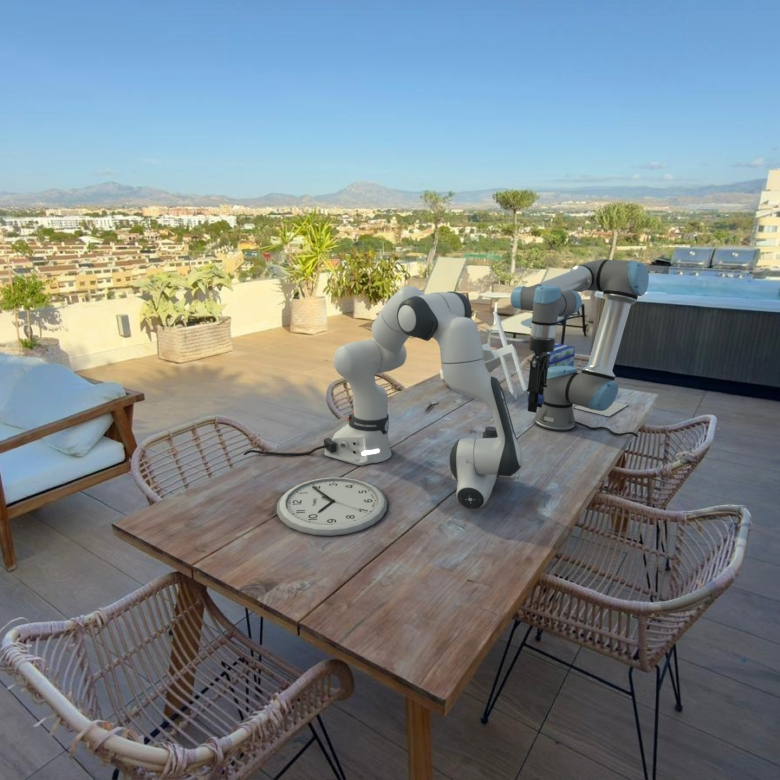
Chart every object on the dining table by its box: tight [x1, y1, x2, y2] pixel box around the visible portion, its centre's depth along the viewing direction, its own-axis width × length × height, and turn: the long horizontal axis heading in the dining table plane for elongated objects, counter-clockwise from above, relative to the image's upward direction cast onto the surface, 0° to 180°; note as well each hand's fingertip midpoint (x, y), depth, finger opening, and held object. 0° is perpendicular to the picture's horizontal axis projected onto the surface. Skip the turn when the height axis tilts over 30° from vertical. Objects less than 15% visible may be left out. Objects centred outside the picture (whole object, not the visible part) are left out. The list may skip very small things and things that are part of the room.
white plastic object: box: [438, 310, 529, 400], centre depth 245 cm, size 37×45×31 cm
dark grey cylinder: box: [482, 426, 498, 438], centre depth 160 cm, size 5×5×15 cm
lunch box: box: [547, 343, 576, 368], centre depth 249 cm, size 26×11×21 cm, turn 134°
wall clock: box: [276, 476, 388, 537], centre depth 142 cm, size 30×2×30 cm
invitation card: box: [573, 401, 629, 418], centre depth 226 cm, size 21×1×15 cm
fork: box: [425, 396, 439, 412], centre depth 222 cm, size 3×16×2 cm, turn 160°
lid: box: [526, 394, 545, 404], centre depth 166 cm, size 5×5×2 cm
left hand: (489, 454), depth 161 cm, fingers closed on dark grey cylinder, 5 cm apart
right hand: (534, 409), depth 167 cm, fingers closed on lid, 5 cm apart
